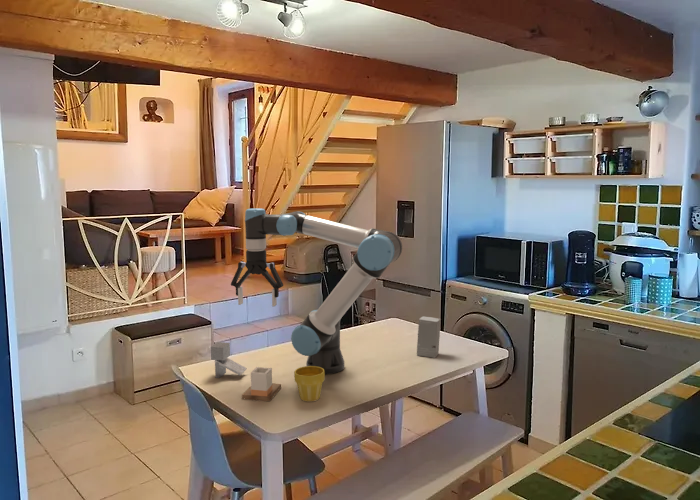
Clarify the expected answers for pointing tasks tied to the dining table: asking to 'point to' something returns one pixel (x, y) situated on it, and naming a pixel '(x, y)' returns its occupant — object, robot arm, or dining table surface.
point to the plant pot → (309, 382)
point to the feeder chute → (224, 360)
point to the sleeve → (261, 381)
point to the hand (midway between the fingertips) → (257, 304)
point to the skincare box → (428, 337)
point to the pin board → (262, 398)
